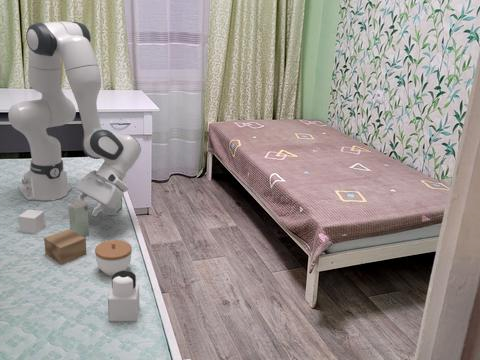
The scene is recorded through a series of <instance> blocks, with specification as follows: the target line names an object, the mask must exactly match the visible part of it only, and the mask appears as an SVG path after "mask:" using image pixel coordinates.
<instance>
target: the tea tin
mask: <svg viewBox="0 0 480 360" xmlns="http://www.w3.org/2000/svg"><path fill="white" fill-rule="evenodd" d="M67 205H68V216H69V217H68V219H69V220H68V221H69V229H70V230H72V231H74V232H75V233H77V234H79V235H81V236H82V237H84V238H86V237H88V236H90V231H89V211H88V210H89V208H88V206H89V202H87V201H86V200H82V199H75V200H71V201H68V202H67Z"/></svg>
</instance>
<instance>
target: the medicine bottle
mask: <svg viewBox="0 0 480 360" xmlns="http://www.w3.org/2000/svg"><path fill="white" fill-rule="evenodd" d="M136 276H137V275H136V274H135V273H134V272H133V271H130V270H124V271H119V272H117V273H115V274H114V275H113V276H111V289H110V292H109V295H108V299H107V301H108V302H107V303H108V321H109V322H137V321H136V320H138V315H139V309H140V284H139V283H137V282H136V281H137V279H136V278H137V277H136Z"/></svg>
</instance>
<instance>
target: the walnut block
mask: <svg viewBox="0 0 480 360" xmlns="http://www.w3.org/2000/svg"><path fill="white" fill-rule="evenodd" d="M43 241H44V251H45V252H44V253H45V255H46V256H47V257H49V258H50V259H52V260H54V261H56V263H58V264H60V265H64V264H67V263H69V262H71V261H74V260H76V259H79V258H82V257H83V256H84V257H85V256H86V255H87V239H86V237H82V236H81V235H79V234H77V233H75V232H74V231H72V230H70V228H69V229H65V230H63V231H59V232H57V233H54V234H51V235H49V236H46V237H43Z"/></svg>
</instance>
